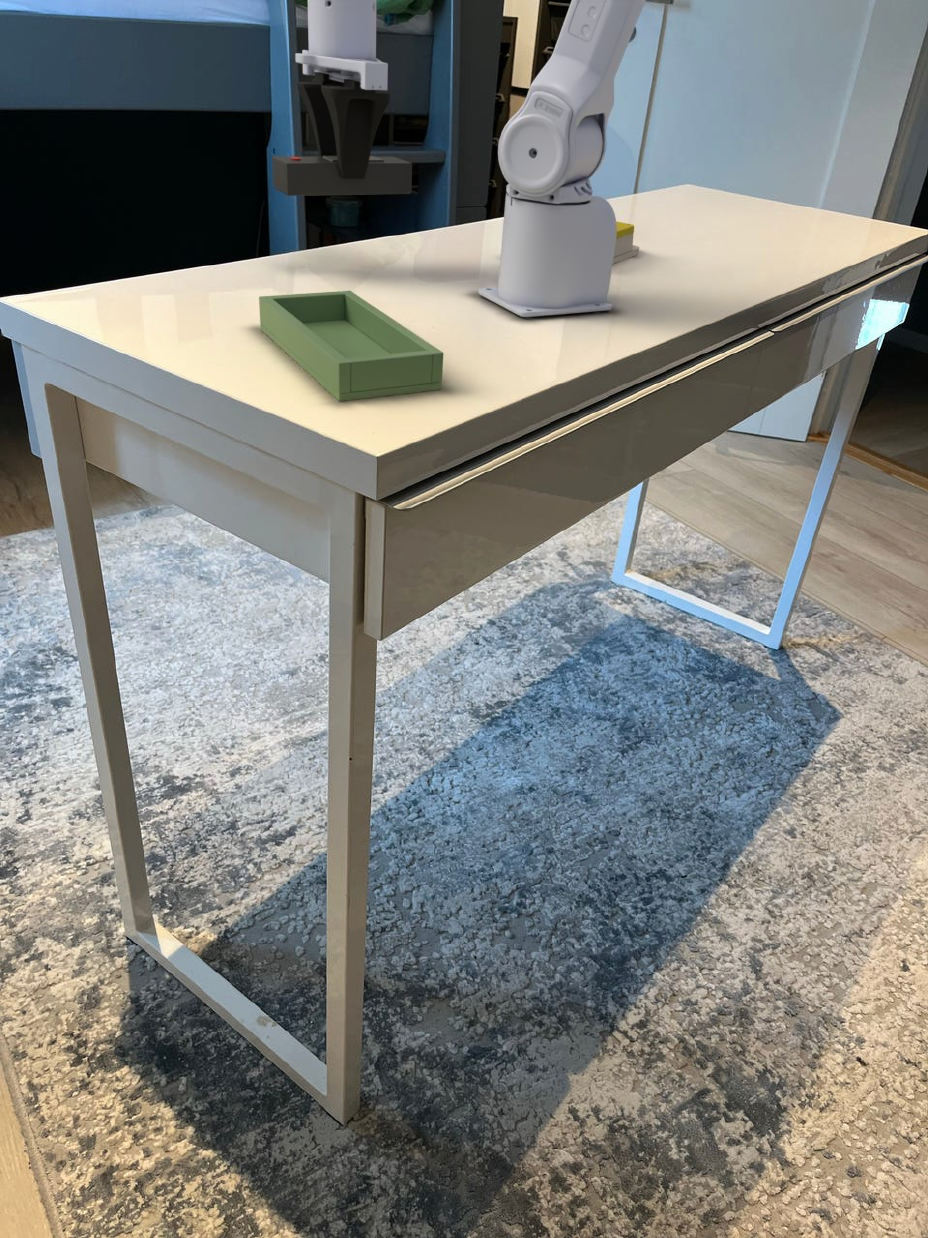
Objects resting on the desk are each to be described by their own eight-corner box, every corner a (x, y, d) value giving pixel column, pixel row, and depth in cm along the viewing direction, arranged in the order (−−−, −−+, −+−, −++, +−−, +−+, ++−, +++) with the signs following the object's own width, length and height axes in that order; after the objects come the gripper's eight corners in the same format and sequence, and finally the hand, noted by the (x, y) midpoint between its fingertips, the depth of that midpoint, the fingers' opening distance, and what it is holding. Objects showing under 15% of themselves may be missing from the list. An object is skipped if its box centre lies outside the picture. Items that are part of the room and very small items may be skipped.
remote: (393, 186, 89) (394, 154, 87) (411, 193, 86) (412, 161, 84) (273, 187, 84) (271, 154, 82) (288, 195, 81) (286, 161, 79)
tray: (350, 322, 74) (350, 290, 72) (441, 389, 62) (443, 352, 61) (260, 329, 71) (258, 296, 69) (339, 401, 59) (339, 362, 58)
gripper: (267, -12, 80) (274, 161, 88) (329, -8, 70) (331, 188, 77) (343, -6, 83) (344, 161, 91) (413, -1, 73) (407, 187, 80)
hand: (343, 173), depth 84 cm, fingers closed on remote, 4 cm apart
